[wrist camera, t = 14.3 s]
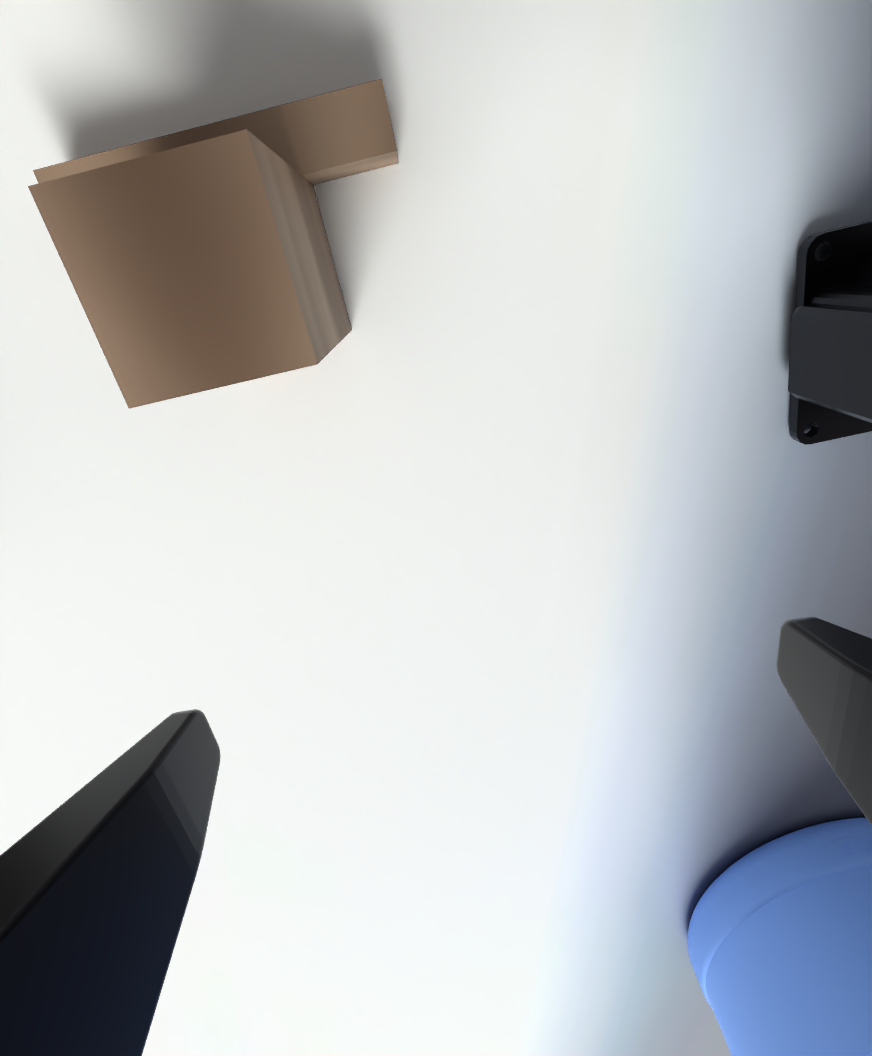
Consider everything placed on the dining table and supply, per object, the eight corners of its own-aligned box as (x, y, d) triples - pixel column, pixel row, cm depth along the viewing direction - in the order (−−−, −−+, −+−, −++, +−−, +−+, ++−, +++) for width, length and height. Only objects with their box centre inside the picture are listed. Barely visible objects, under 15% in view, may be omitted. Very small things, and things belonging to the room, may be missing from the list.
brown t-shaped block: (385, 99, 15) (365, -23, 9) (429, 311, 17) (439, 335, 11) (72, 180, 16) (-159, 120, 9) (155, 376, 18) (14, 435, 12)
